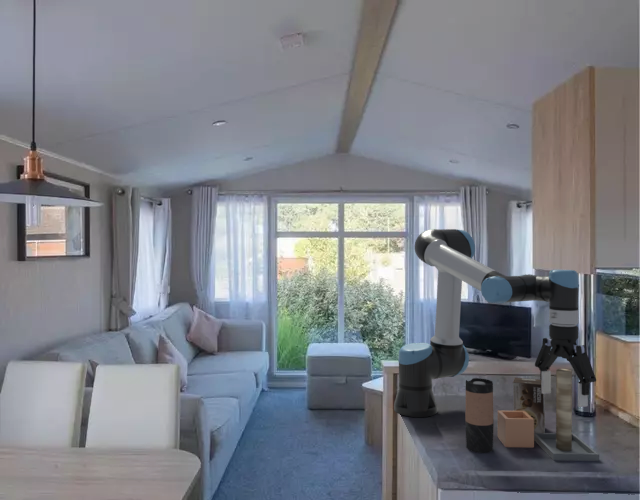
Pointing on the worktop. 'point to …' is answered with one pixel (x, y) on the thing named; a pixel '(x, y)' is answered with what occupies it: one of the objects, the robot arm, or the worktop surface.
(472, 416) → the travel mug
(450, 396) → the worktop surface
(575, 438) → the tray
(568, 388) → the dowel
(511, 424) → the pot
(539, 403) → the coffee box
